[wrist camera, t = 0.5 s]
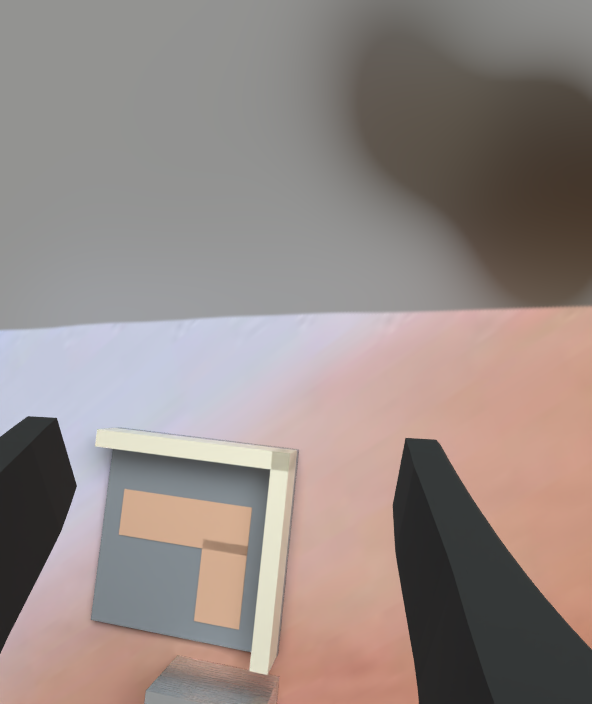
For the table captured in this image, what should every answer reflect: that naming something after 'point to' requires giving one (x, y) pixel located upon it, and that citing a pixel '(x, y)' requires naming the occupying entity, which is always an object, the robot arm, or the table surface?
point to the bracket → (211, 684)
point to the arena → (196, 539)
